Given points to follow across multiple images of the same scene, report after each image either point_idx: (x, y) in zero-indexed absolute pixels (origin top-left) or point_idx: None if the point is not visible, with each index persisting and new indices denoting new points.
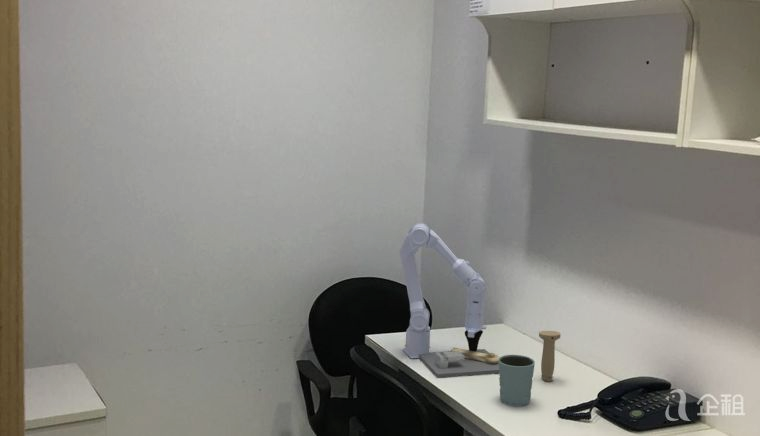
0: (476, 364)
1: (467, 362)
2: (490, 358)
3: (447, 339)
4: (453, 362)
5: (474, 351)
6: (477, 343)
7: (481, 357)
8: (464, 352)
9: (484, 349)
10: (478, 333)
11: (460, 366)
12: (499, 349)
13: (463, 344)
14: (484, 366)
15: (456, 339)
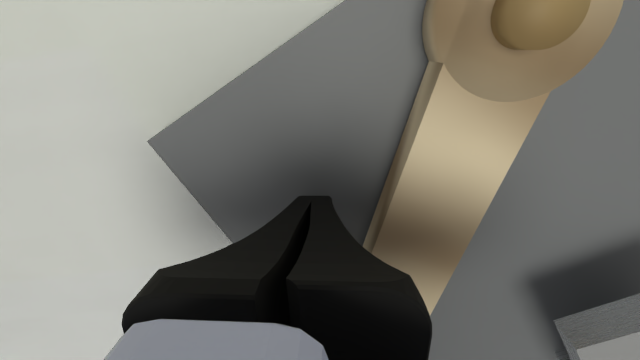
0: (573, 150)
1: (528, 220)
2: (603, 19)
3: (74, 349)
4: (541, 300)
5: (386, 214)
6: (351, 236)
7: (522, 130)
8: (438, 282)
9: (160, 140)
10: (318, 338)
11: (631, 253)
12: (15, 22)
13: (94, 275)
14: (632, 71)
15: (40, 314)
